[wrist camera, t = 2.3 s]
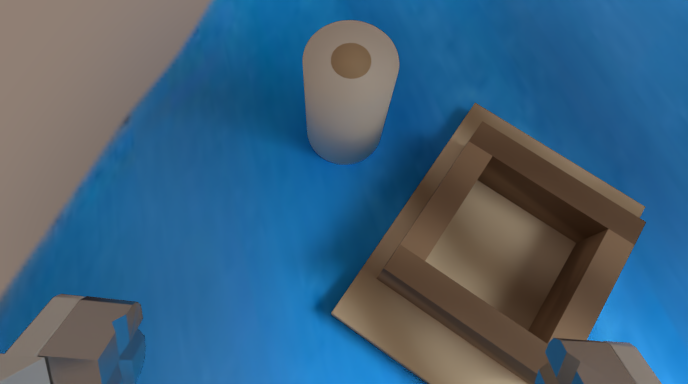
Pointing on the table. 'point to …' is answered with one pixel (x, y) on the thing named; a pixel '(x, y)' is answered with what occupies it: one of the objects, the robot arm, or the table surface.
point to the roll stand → (492, 259)
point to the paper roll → (348, 89)
